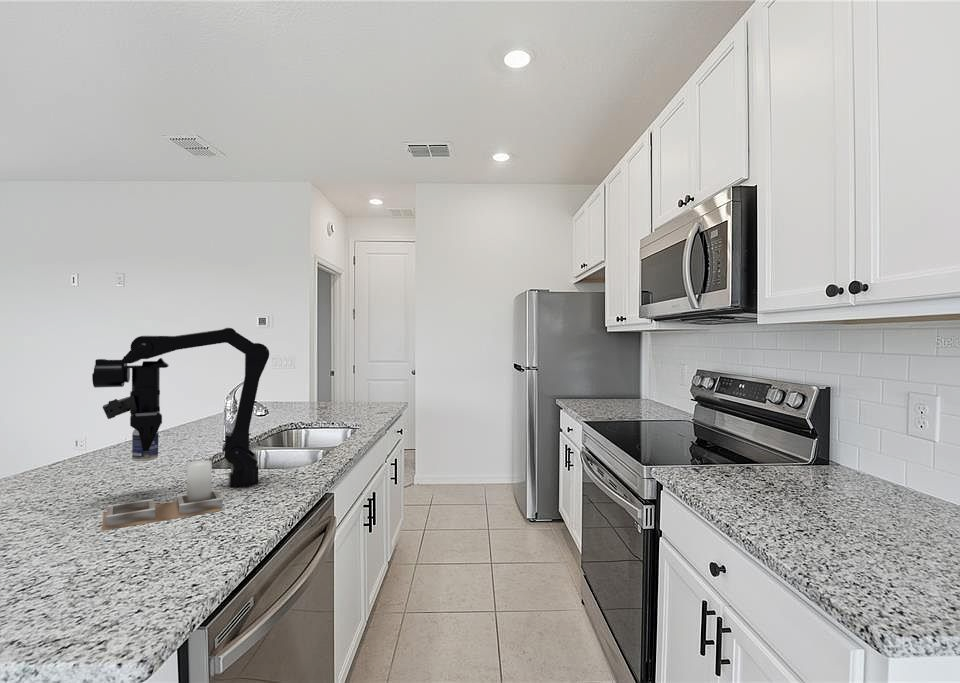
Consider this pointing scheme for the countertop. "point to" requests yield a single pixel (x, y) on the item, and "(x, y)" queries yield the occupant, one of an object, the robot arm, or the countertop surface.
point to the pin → (199, 481)
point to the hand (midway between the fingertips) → (145, 449)
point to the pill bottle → (138, 451)
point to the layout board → (157, 511)
